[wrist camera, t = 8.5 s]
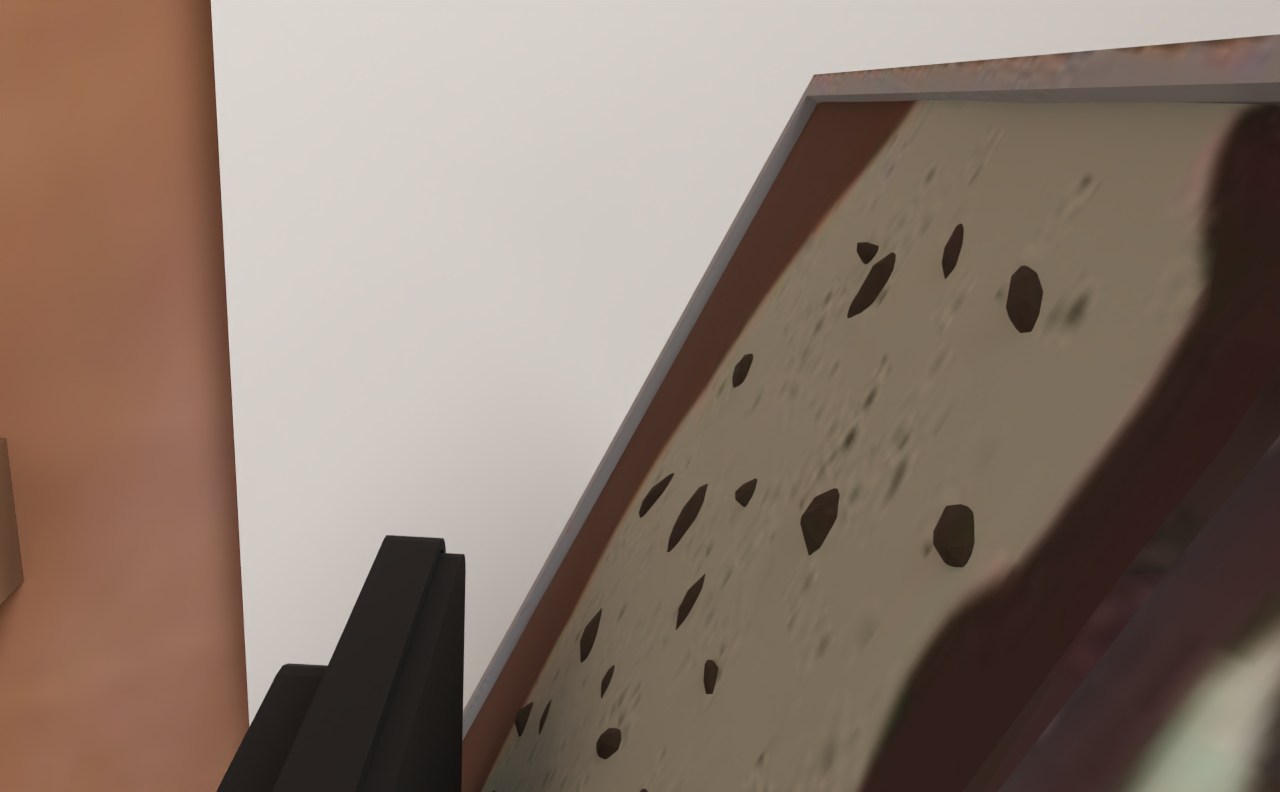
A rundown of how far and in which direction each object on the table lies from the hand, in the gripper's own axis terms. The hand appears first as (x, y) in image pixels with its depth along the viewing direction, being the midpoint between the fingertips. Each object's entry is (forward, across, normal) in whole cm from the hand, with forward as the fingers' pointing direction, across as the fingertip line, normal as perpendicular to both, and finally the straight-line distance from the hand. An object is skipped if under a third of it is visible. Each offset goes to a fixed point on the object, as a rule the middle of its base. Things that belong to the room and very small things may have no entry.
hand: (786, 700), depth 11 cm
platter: (+11, 0, 0) cm, 11 cm away
